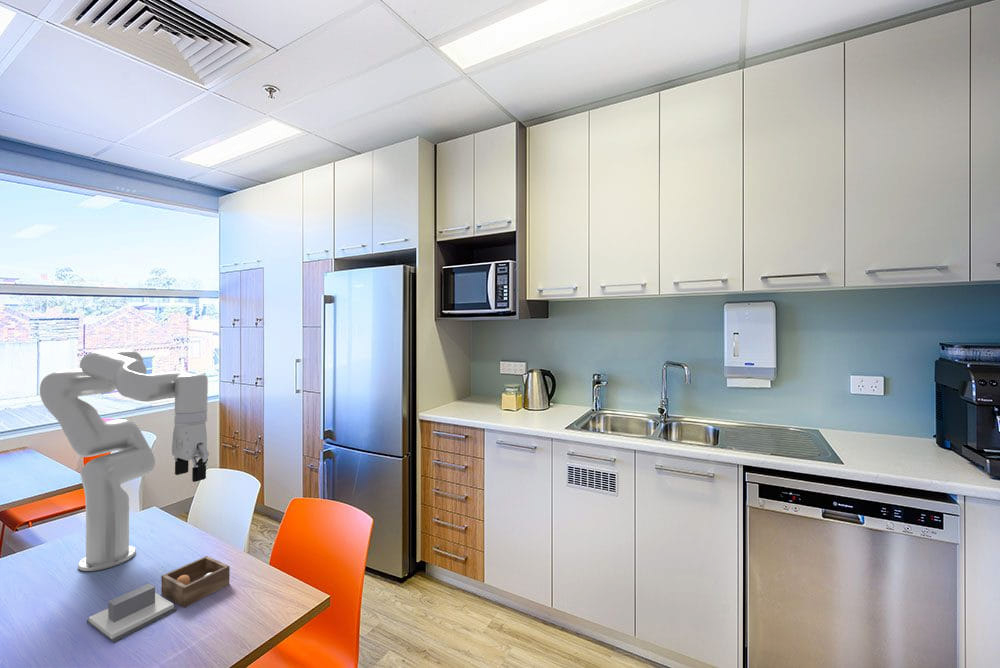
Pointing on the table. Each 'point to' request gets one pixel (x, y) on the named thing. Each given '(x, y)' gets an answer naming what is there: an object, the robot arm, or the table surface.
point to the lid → (130, 611)
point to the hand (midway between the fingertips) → (190, 476)
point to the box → (195, 581)
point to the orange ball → (184, 579)
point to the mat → (137, 626)
